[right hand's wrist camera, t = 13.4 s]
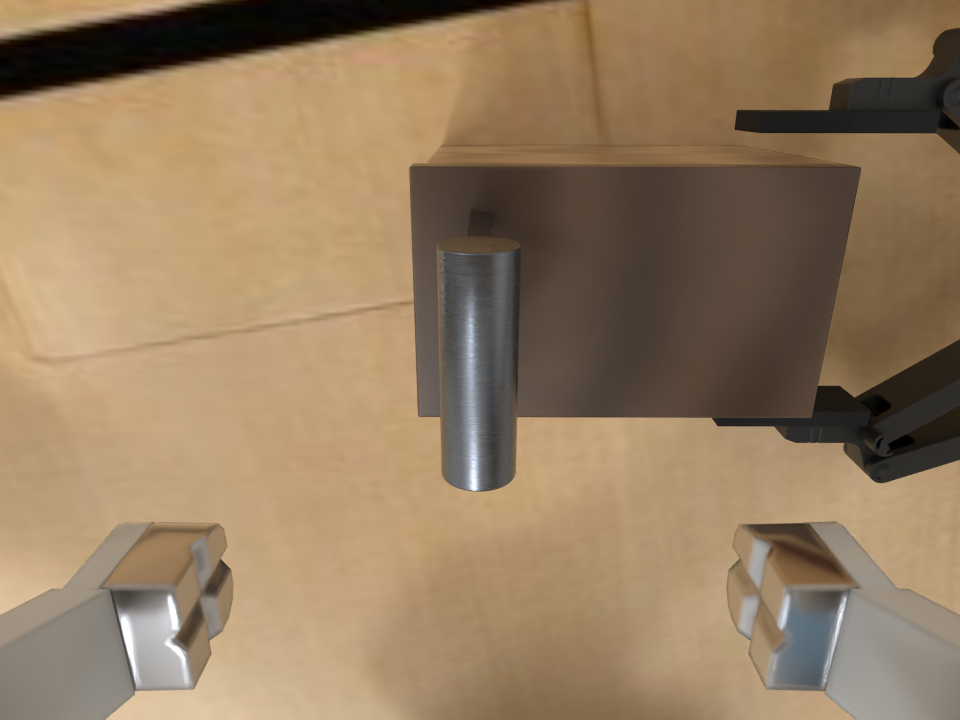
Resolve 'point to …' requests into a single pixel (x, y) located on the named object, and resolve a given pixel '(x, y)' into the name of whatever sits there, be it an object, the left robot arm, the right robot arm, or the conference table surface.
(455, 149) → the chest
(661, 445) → the conference table surface
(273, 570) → the conference table surface
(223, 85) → the conference table surface
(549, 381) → the door
